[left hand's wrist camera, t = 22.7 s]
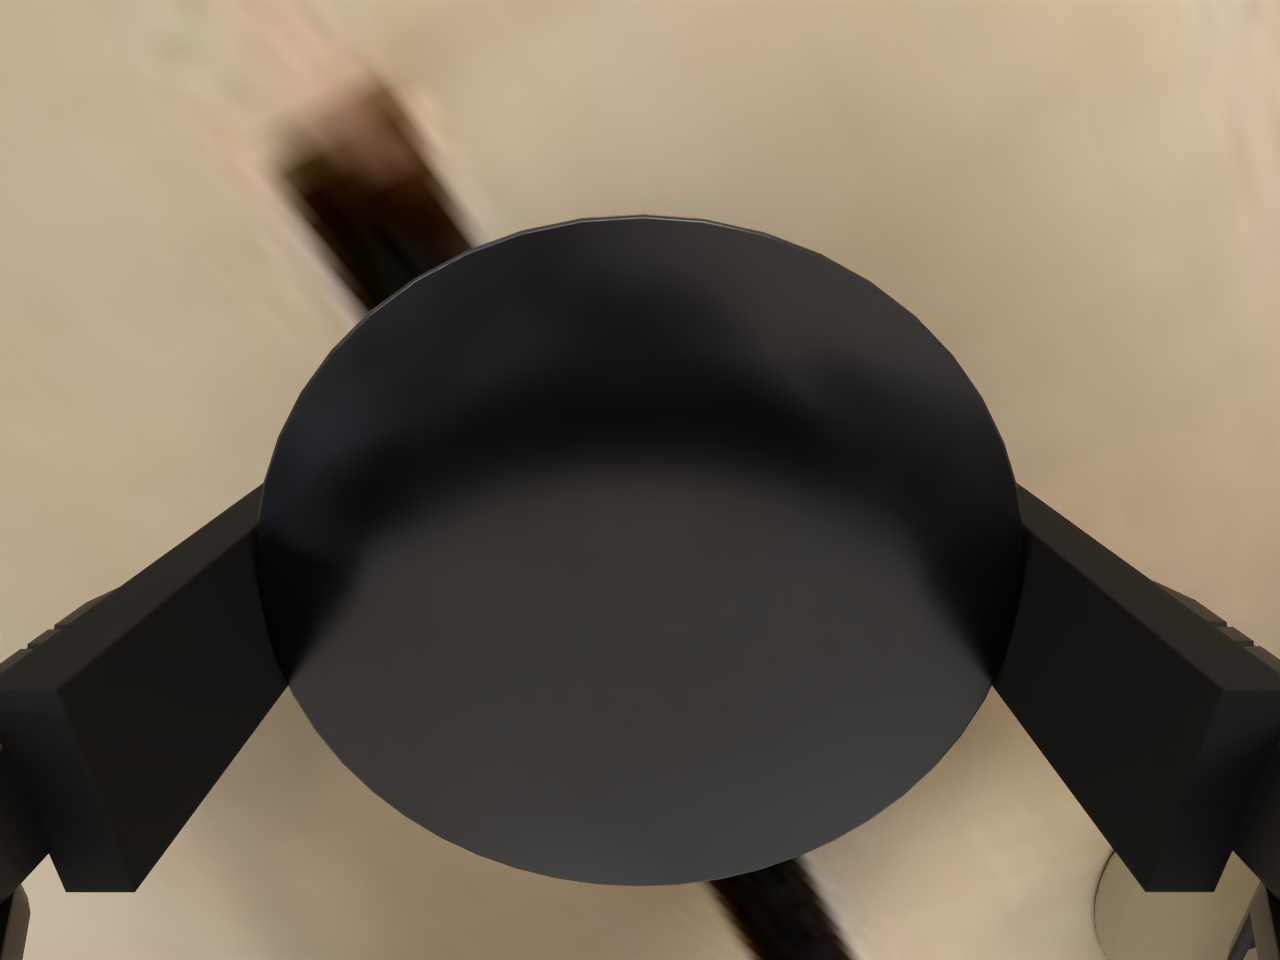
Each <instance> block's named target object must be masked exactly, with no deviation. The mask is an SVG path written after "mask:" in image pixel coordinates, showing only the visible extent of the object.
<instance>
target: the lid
mask: <svg viewBox="0 0 1280 960" xmlns="http://www.w3.org/2000/svg"><path fill="white" fill-rule="evenodd" d="M256 530H257V580H258V586H259V593H260V599H261V605H262V610H263V614H264V619H265V623H266V626H267V630H268V634H269V637H270V641H271V644H272V647H273V650H274V654H275V657H276V659H277V662H278V664H279V666H280V668H281V670H282V672H283V674H284V677H285V679H286V681H287V683H288V685H289V687H290V689H291V692H292V694H293V696H294V697H295V699H296V701H297V702H298V704H299V705H300V707H301V708H302V710H303V712H304V713H305V715H306V716H307V718H308V719H309V721H310V723H311V724H312V726H313V727H314V729H315V730H316V732H317V733H318V734H319V735H320V737H321V738H322V739H323V740H324V741H325V743H326V744H327V745H328V746H329V747H330V749H331V750H332V751H333V752H334V753H335V755H336V756H337V757H338V758H339V759H340V761H341V762H342V763H343V764H344V765H345V766H346V767H347V768H348V769H349V770H350V771H351V772H352V773H353V774H355V775H356V776H357V777H358V778H359V779H360V780H361V781H362V782H363V783H364V784H365V785H366V786H367V787H368V788H369V789H370V790H371V791H372V792H374V793H375V794H376V795H378V796H379V797H380V798H382V799H383V800H384V801H386V802H387V803H388V804H390V805H391V806H392V807H394V808H395V809H396V810H398V811H399V812H400V813H402V814H403V815H404V816H406V817H407V818H409V819H411V820H412V821H414V822H416V823H417V824H419V825H421V826H422V827H424V828H426V829H427V830H429V831H431V832H432V833H434V834H436V835H437V836H439V837H441V838H443V839H445V840H447V841H449V842H451V843H453V844H456V845H458V846H460V847H462V848H464V849H466V850H469V851H471V852H473V853H475V854H477V855H480V856H483V857H485V858H488V859H491V860H494V861H497V862H500V863H503V864H505V865H508V866H511V867H514V868H517V869H521V870H525V871H529V872H533V873H537V874H541V875H545V876H550V877H554V878H559V879H565V880H572V881H579V882H586V883H593V884H604V885H624V886H656V885H679V884H687V883H694V882H701V881H709V880H716V879H722V878H726V877H730V876H735V875H739V874H743V873H748V872H752V871H756V870H760V869H763V868H766V867H769V866H772V865H775V864H778V863H781V862H784V861H787V860H790V859H793V858H796V857H798V856H801V855H803V854H805V853H807V852H810V851H812V850H814V849H816V848H818V847H821V846H823V845H825V844H827V843H830V842H832V841H834V840H836V839H838V838H839V837H841V836H843V835H845V834H846V833H848V832H850V831H851V830H853V829H855V828H857V827H858V826H860V825H862V824H864V823H865V822H867V821H869V820H870V819H872V818H873V817H875V816H876V815H877V814H879V813H880V812H881V811H883V810H884V809H885V808H887V807H888V806H890V805H891V804H892V803H894V802H895V801H896V800H898V799H899V798H900V797H902V796H903V795H904V794H905V793H907V792H908V791H909V790H910V789H911V788H912V787H913V786H914V785H915V784H916V783H917V782H918V781H920V780H921V779H922V778H923V777H924V776H925V775H926V774H927V773H928V772H929V771H930V770H931V769H933V768H934V767H935V765H936V764H937V763H938V762H939V761H940V760H941V758H942V757H943V756H944V755H945V754H946V753H947V751H948V750H949V749H950V748H951V747H952V746H953V744H954V743H955V742H956V741H957V740H958V739H959V737H960V736H961V735H962V733H963V732H964V730H965V729H966V727H967V726H968V724H969V723H970V721H971V720H972V718H973V717H974V715H975V714H976V712H977V711H978V709H979V708H980V706H981V705H982V703H983V702H984V700H985V698H986V696H987V694H988V692H989V690H990V688H991V686H992V684H993V681H994V679H995V677H996V675H997V673H998V671H999V669H1000V667H1001V665H1002V663H1003V660H1004V657H1005V654H1006V651H1007V648H1008V645H1009V642H1010V638H1011V635H1012V632H1013V629H1014V625H1015V621H1016V616H1017V612H1018V607H1019V601H1020V595H1021V589H1022V583H1023V564H1024V530H1023V523H1022V516H1021V508H1020V501H1019V494H1018V487H1017V484H1016V480H1015V477H1014V474H1013V471H1012V467H1011V464H1010V461H1009V457H1008V454H1007V451H1006V447H1005V444H1004V441H1003V439H1002V437H1001V435H1000V433H999V431H998V429H997V427H996V425H995V423H994V421H993V418H992V416H991V414H990V412H989V410H988V408H987V406H986V404H985V402H984V400H983V398H982V396H981V395H980V393H979V392H978V391H977V389H976V388H975V386H974V385H973V383H972V382H971V380H970V379H969V378H968V376H967V375H966V373H965V372H964V370H963V369H962V368H961V366H960V365H959V363H958V362H957V360H956V359H955V357H954V356H953V355H952V354H951V353H950V352H949V351H948V349H947V348H946V347H945V346H944V345H943V344H942V343H941V342H940V341H939V340H938V339H937V338H936V337H935V336H934V335H933V334H932V333H931V332H930V331H929V330H928V329H927V328H926V326H925V325H924V324H923V323H922V322H921V321H920V320H919V319H918V318H917V317H916V316H915V315H913V314H912V313H911V312H910V311H908V310H907V309H906V308H904V307H903V306H902V305H901V304H899V303H898V302H897V301H895V300H894V299H893V298H891V297H890V296H889V295H888V294H886V293H885V292H884V291H882V290H881V289H880V288H878V287H877V286H876V285H875V284H873V283H872V282H870V281H869V280H867V279H865V278H863V277H861V276H860V275H858V274H856V273H854V272H852V271H851V270H849V269H847V268H845V267H843V266H842V265H840V264H838V263H836V262H834V261H833V260H831V259H829V258H827V257H825V256H824V255H822V254H820V253H817V252H815V251H812V250H809V249H807V248H804V247H801V246H799V245H796V244H793V243H791V242H788V241H786V240H783V239H780V238H778V237H775V236H772V235H770V234H767V233H764V232H760V231H755V230H751V229H746V228H742V227H737V226H733V225H728V224H724V223H719V222H715V221H711V220H706V219H700V218H693V217H680V216H667V215H654V214H629V215H612V216H596V217H587V218H581V219H576V220H571V221H566V222H561V223H557V224H552V225H547V226H542V227H537V228H532V229H527V230H523V231H520V232H517V233H514V234H511V235H508V236H506V237H503V238H500V239H497V240H495V241H492V242H489V243H486V244H483V245H481V246H478V247H475V248H472V249H470V250H467V251H465V252H463V253H461V254H459V255H457V256H455V257H453V258H451V259H450V260H448V261H446V262H444V263H442V264H440V265H438V266H437V267H435V268H433V269H431V270H429V271H427V272H425V273H423V274H422V275H420V276H418V277H416V278H414V279H413V280H411V281H410V282H409V283H407V284H406V285H405V286H403V287H402V288H401V289H399V290H398V291H397V292H395V293H394V294H393V295H391V296H390V297H389V298H387V299H386V300H385V301H383V302H382V303H380V304H379V305H378V306H376V307H375V308H374V309H372V310H371V311H370V312H369V313H368V314H367V315H366V316H365V317H364V318H363V319H362V320H361V321H360V322H359V323H358V324H357V325H356V326H355V327H354V328H353V329H352V330H351V331H350V332H349V333H348V334H347V335H346V336H345V337H344V338H343V339H342V340H341V341H340V342H339V343H338V344H337V345H336V346H335V347H334V348H333V349H332V350H331V351H330V353H329V354H328V355H327V357H326V358H325V360H324V361H323V362H322V364H321V365H320V366H319V368H318V369H317V371H316V372H315V373H314V375H313V376H312V378H311V379H310V380H309V382H308V383H307V384H306V386H305V387H304V389H303V390H302V391H301V393H300V395H299V397H298V399H297V401H296V403H295V405H294V407H293V409H292V411H291V413H290V415H289V417H288V419H287V421H286V423H285V425H284V426H283V428H282V430H281V432H280V434H279V436H278V439H277V442H276V446H275V449H274V452H273V455H272V458H271V461H270V464H269V467H268V470H267V474H266V477H265V480H264V484H263V490H262V497H261V503H260V509H259V516H258V522H257V529H256Z"/></svg>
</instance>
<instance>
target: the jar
mask: <svg viewBox="0 0 1280 960" xmlns="http://www.w3.org/2000/svg"><path fill="white" fill-rule="evenodd" d="M1259 882H1260V879H1259V878H1258V877H1257V876H1256V875H1255V874H1254V873H1253V872H1252V871H1251V870H1250V869H1249V868H1248V866H1247V865H1246V864H1245V863H1244V862H1243V861H1242V860H1241V859H1240V858H1239V857H1238V856H1237V855H1236V853H1235V852H1234V851H1233V850H1232V853H1231V855H1230V857H1229V860H1228V862H1227V864H1226V866H1225V869H1224V871H1223V873H1222V875H1221V878H1220V880H1219V882H1218V885H1217V887H1216V889H1215V891H1214V892H1145V891H1144V890H1143V888H1142V887H1141V886H1140V884H1139V883H1138V881H1137V880H1136V879H1135V877H1134V876H1133V875H1132V873H1131V872H1130V871H1129V869H1128V868H1127V867H1126V865H1125V864H1124V863H1123V861H1122V860H1121V859H1120V857H1119V856H1118V854H1117V853H1116V852H1114V854H1113V855H1112V857H1111V858H1110V860H1109V862H1108V864H1107V866H1106V869H1105V871H1104V873H1103V875H1102V877H1101V880H1100V884H1099V887H1098V891H1097V895H1096V902H1095V914H1094V915H1095V924H1096V932H1097V936H1098V939H1099V942H1100V945H1101V948H1102V950H1103V952H1104V954H1105V955H1106V957H1107V959H1108V960H1227V958H1228V952H1229V947H1230V944H1231V942H1232V940H1233V938H1234V935H1235V933H1236V931H1237V929H1238V927H1239V925H1240V923H1241V921H1242V918H1243V916H1244V914H1245V912H1246V910H1247V908H1248V906H1249V904H1250V902H1251V899H1252V897H1253V895H1254V893H1255V891H1256V889H1257V887H1258V885H1259ZM1243 960H1258V956H1257V950H1256V947H1255V948H1253V949H1250V950H1248V951H1247V953H1246V955H1245V957H1244V959H1243Z"/></svg>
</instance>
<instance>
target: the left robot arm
mask: <svg viewBox="0 0 1280 960" xmlns="http://www.w3.org/2000/svg"><path fill="white" fill-rule="evenodd" d="M263 484H264V483H263ZM263 484H261V485H260V486H259V487H257V488H256V489H254V490H253V491H252V492H250V493H249V494H248V495H246V496H245V497H243V498H242V499H241V500H239V501H238V502H237V503H235V504H234V505H232V506H231V507H230V508H228V509H227V510H225V511H224V512H223V513H221V514H220V515H219V516H217V517H216V518H214V519H213V520H212V521H210V522H209V523H208V524H206V525H205V526H203V527H202V528H201V529H199V530H198V531H196V532H195V533H194V534H192V535H191V536H190V537H188V538H187V539H185V540H184V541H183V542H181V543H180V544H179V545H177V546H176V547H174V548H173V549H172V550H170V551H169V552H168V553H166V554H165V555H163V556H162V557H161V558H159V559H158V560H156V561H155V562H154V563H152V564H151V565H150V566H148V567H147V568H145V569H144V570H143V571H141V572H140V573H139V574H137V575H136V576H134V577H133V578H132V579H130V580H129V581H128V582H126V583H125V584H123V585H122V586H121V587H119V588H117V589H115V590H112V591H110V592H108V593H106V594H104V595H102V596H99V597H97V598H95V599H93V600H91V601H89V602H86V603H85V604H84V605H82V606H81V607H79V608H78V609H77V610H75V611H74V612H72V613H71V614H69V615H68V616H67V617H65V618H64V619H62V620H61V621H60V622H58V623H57V624H55V628H54V630H47V631H46V632H44V633H43V634H41V635H40V636H38V637H37V638H36V639H34V640H33V641H31V642H30V643H29V644H28V647H27V649H20V650H19V651H17V652H16V653H14V654H13V655H12V656H10V657H9V658H7V659H6V660H5V661H3V662H2V663H0V960H22V959H23V953H24V947H25V941H26V935H27V930H28V924H29V918H30V908H29V902H28V897H27V895H26V893H25V891H24V889H23V887H22V885H21V883H22V882H23V881H24V880H25V878H26V877H27V876H28V875H29V874H30V873H31V872H32V871H33V870H34V869H35V868H36V867H37V865H38V864H39V863H40V862H41V861H42V860H43V859H44V858H45V857H46V856H47V855H48V853H49V854H50V857H51V859H52V861H53V864H54V866H55V868H56V870H57V873H58V875H59V877H60V879H61V882H62V884H63V886H64V888H65V891H66V892H135V891H136V890H137V888H138V887H139V886H140V884H141V883H142V882H143V880H144V879H145V878H146V876H147V875H148V874H149V872H150V871H151V870H152V868H153V867H154V866H155V864H156V863H157V861H158V860H159V859H160V857H161V856H162V855H163V853H164V852H165V851H166V849H167V848H168V847H169V845H170V844H171V843H172V841H173V840H174V839H175V837H176V836H177V834H178V833H179V832H180V830H181V829H182V828H183V826H184V825H185V824H186V822H187V821H188V820H189V818H190V817H191V816H192V814H193V813H194V812H195V810H196V809H197V807H198V806H199V805H200V803H201V802H202V801H203V799H204V798H205V797H206V795H207V794H208V793H209V791H210V790H211V789H212V787H213V786H214V785H215V783H216V782H217V780H218V779H219V778H220V776H221V775H222V774H223V772H224V771H225V770H226V768H227V767H228V766H229V764H230V763H231V762H232V760H233V759H234V758H235V756H236V755H237V753H238V752H239V751H240V749H241V748H242V747H243V745H244V744H245V743H246V741H247V740H248V739H249V737H250V736H251V735H252V733H253V732H254V731H255V729H256V728H257V726H258V725H259V724H260V722H261V721H262V720H263V718H264V717H265V716H266V714H267V713H268V712H269V710H270V709H271V708H272V706H273V705H274V704H275V702H276V701H277V699H278V698H279V697H280V695H281V694H282V693H283V691H284V690H285V689H286V687H287V686H288V683H287V681H286V679H285V677H284V674H283V672H282V670H281V668H280V666H279V664H278V662H277V659H276V657H275V654H274V650H273V647H272V644H271V641H270V637H269V634H268V630H267V626H266V623H265V619H264V614H263V610H262V605H261V599H260V593H259V586H258V580H257V530H256V529H257V522H258V516H259V509H260V503H261V497H262V490H263ZM1016 484H1017V483H1016ZM1017 487H1018V494H1019V501H1020V508H1021V516H1022V523H1023V530H1024V564H1023V583H1022V589H1021V595H1020V601H1019V607H1018V612H1017V616H1016V621H1015V625H1014V629H1013V632H1012V635H1011V638H1010V642H1009V645H1008V648H1007V651H1006V654H1005V657H1004V660H1003V663H1002V665H1001V667H1000V669H999V671H998V673H997V675H996V677H995V679H994V681H993V684H992V686H993V687H994V688H995V690H996V691H997V692H998V694H999V695H1000V697H1001V698H1002V699H1003V701H1004V702H1005V703H1006V705H1007V706H1008V707H1009V709H1010V710H1011V711H1012V713H1013V714H1014V715H1015V717H1016V718H1017V719H1018V721H1019V722H1020V724H1021V725H1022V726H1023V728H1024V729H1025V730H1026V732H1027V733H1028V734H1029V736H1030V737H1031V738H1032V740H1033V741H1034V742H1035V744H1036V745H1037V746H1038V748H1039V749H1040V751H1041V752H1042V753H1043V755H1044V756H1045V757H1046V759H1047V760H1048V761H1049V763H1050V764H1051V765H1052V767H1053V768H1054V769H1055V771H1056V772H1057V773H1058V775H1059V776H1060V778H1061V779H1062V780H1063V782H1064V783H1065V784H1066V786H1067V787H1068V788H1069V790H1070V791H1071V792H1072V794H1073V795H1074V796H1075V798H1076V799H1077V800H1078V802H1079V803H1080V805H1081V806H1082V807H1083V809H1084V810H1085V811H1086V813H1087V814H1088V815H1089V817H1090V818H1091V819H1092V821H1093V822H1094V823H1095V825H1096V826H1097V827H1098V829H1099V830H1100V832H1101V833H1102V834H1103V836H1104V837H1105V838H1106V840H1107V841H1108V842H1109V844H1110V845H1111V846H1112V848H1113V849H1114V850H1115V852H1116V853H1117V854H1118V856H1119V857H1120V859H1121V860H1122V861H1123V863H1124V864H1125V865H1126V867H1127V868H1128V869H1129V871H1130V872H1131V873H1132V875H1133V876H1134V877H1135V879H1136V880H1137V881H1138V883H1139V884H1140V886H1141V887H1142V888H1143V890H1144V891H1145V892H1214V891H1215V889H1216V887H1217V885H1218V882H1219V880H1220V878H1221V875H1222V873H1223V871H1224V869H1225V866H1226V864H1227V862H1228V860H1229V857H1230V855H1231V853H1232V850H1233V851H1234V852H1235V853H1236V855H1237V856H1238V857H1239V858H1240V859H1241V860H1242V861H1243V862H1244V863H1245V864H1246V865H1247V866H1248V868H1249V869H1250V870H1251V871H1252V872H1253V873H1254V874H1255V875H1256V876H1257V877H1258V878H1259V879H1260V882H1259V885H1258V887H1257V889H1256V891H1255V893H1254V895H1253V897H1252V899H1251V902H1250V904H1249V906H1248V908H1247V910H1246V912H1245V914H1244V916H1243V918H1242V921H1241V923H1240V925H1239V927H1238V929H1237V931H1236V933H1235V935H1234V938H1233V940H1232V942H1231V944H1230V947H1229V952H1228V958H1227V960H1243V959H1244V957H1245V955H1246V953H1247V951H1248V950H1250V949H1253V948H1255V947H1256V950H1257V956H1258V960H1280V660H1279V659H1278V658H1277V657H1275V656H1274V655H1272V654H1271V653H1269V652H1268V651H1267V650H1265V649H1264V648H1262V647H1261V646H1254V644H1253V643H1254V641H1252V640H1251V639H1250V638H1248V637H1247V636H1245V635H1244V634H1242V633H1241V632H1240V631H1238V630H1237V629H1235V628H1234V627H1227V622H1225V621H1224V620H1223V619H1221V618H1220V617H1218V616H1217V615H1215V614H1214V613H1213V612H1211V611H1210V610H1208V609H1207V608H1205V607H1204V606H1203V605H1201V604H1200V603H1198V602H1197V601H1195V600H1194V599H1191V598H1189V597H1187V596H1185V595H1183V594H1181V593H1178V592H1176V591H1174V590H1172V589H1170V588H1168V587H1165V586H1163V585H1161V584H1159V583H1157V582H1155V581H1151V580H1150V579H1149V578H1147V577H1146V576H1144V575H1143V574H1142V573H1140V572H1139V571H1138V570H1136V569H1135V568H1133V567H1132V566H1131V565H1129V564H1128V563H1126V562H1125V561H1124V560H1122V559H1121V558H1120V557H1118V556H1117V555H1115V554H1114V553H1113V552H1111V551H1110V550H1109V549H1107V548H1106V547H1104V546H1103V545H1102V544H1100V543H1099V542H1097V541H1096V540H1095V539H1093V538H1092V537H1091V536H1089V535H1088V534H1086V533H1085V532H1084V531H1082V530H1081V529H1080V528H1078V527H1077V526H1075V525H1074V524H1073V523H1071V522H1070V521H1069V520H1067V519H1066V518H1064V517H1063V516H1062V515H1060V514H1059V513H1057V512H1056V511H1055V510H1053V509H1052V508H1051V507H1049V506H1048V505H1046V504H1045V503H1044V502H1042V501H1041V500H1040V499H1038V498H1037V497H1035V496H1034V495H1033V494H1031V493H1030V492H1029V491H1027V490H1026V489H1024V488H1023V487H1022V486H1020V485H1019V484H1017Z"/></svg>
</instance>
